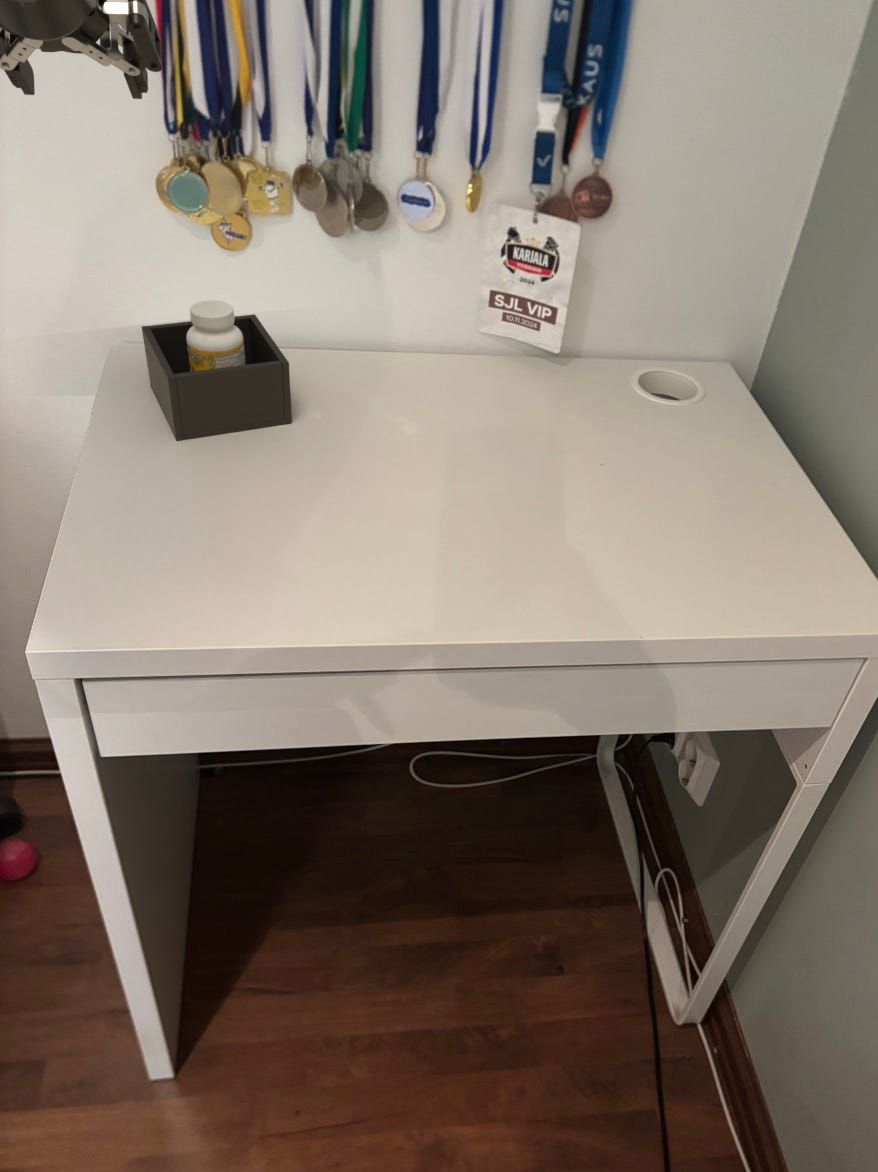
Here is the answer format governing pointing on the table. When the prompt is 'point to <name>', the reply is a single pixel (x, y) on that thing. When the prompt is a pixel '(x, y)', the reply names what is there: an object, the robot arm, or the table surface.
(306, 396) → the table surface
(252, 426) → the basket
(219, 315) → the supplement bottle
